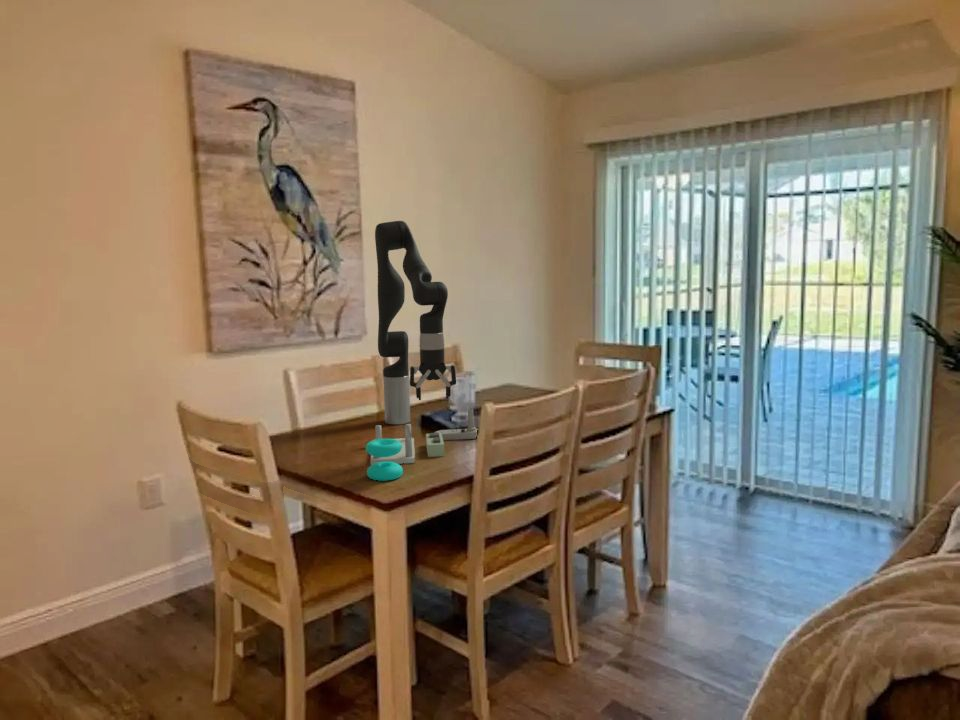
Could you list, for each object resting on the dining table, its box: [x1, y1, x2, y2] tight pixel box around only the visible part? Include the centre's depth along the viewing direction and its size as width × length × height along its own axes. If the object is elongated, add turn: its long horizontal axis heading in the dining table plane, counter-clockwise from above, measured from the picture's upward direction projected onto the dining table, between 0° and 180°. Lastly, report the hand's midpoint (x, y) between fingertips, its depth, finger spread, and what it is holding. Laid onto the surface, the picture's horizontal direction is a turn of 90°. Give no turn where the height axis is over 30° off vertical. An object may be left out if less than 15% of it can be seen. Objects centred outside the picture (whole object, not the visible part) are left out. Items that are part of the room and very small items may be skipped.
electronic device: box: [434, 408, 479, 441], centre depth 249 cm, size 5×10×15 cm
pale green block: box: [425, 432, 445, 458], centre depth 235 cm, size 14×5×5 cm, turn 6°
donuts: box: [365, 438, 404, 482], centre depth 208 cm, size 10×10×10 cm
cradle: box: [370, 423, 416, 466], centre depth 232 cm, size 24×13×6 cm, turn 6°
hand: (433, 399), depth 232 cm, fingers open, 8 cm apart
